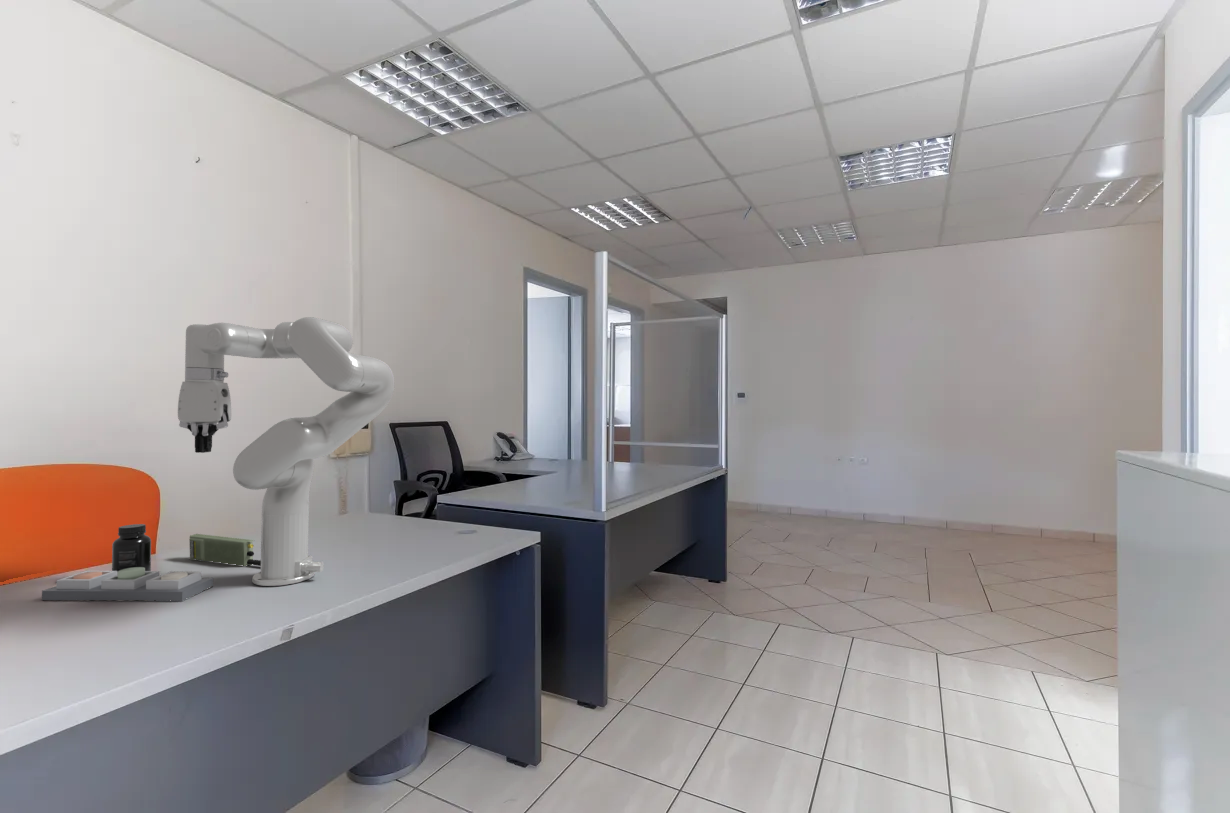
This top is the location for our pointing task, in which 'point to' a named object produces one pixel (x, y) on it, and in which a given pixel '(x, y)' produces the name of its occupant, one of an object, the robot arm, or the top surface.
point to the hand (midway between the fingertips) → (203, 452)
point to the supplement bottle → (131, 548)
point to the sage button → (131, 573)
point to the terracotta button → (87, 575)
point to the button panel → (128, 587)
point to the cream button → (174, 576)
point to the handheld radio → (222, 549)
